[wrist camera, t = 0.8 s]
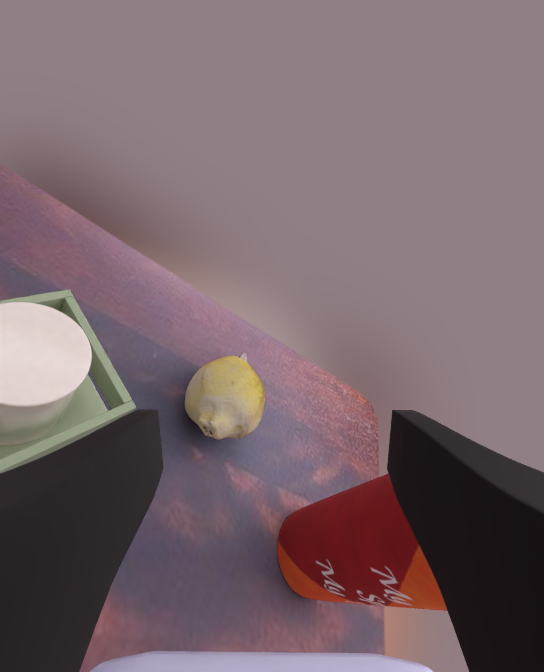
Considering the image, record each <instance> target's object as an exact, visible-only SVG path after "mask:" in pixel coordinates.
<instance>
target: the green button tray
mask: <svg viewBox="0 0 544 672" xmlns="http://www.w3.org/2000/svg"><path fill="white" fill-rule="evenodd" d="M107 411H108V410H107V408H106V407H105V405H104V403H103V401H102V399H101V398H100V396H99V394H98V392H97V390H96V389H95V387H94V385H93V383H92V381H91V379H90V378H89V376H88V374H87V376H86V378H85V380H84V381H83V383H82V385H81V386H80V388H79V390H78V391H77V393H76V395H75V396H74V398H73V400H72V402H71V403H70V405H69V407H68V408H67V410H66V412H65V413H64V415H63V417H62V418H61V420H60V421H59V422H58V423H57V424H56V426H55V427H54V428H52V429H51V430H50V431H49V432H47V433H46V434H44V435H43V436H41V437H39V438H37V439H34V440H32V441H29V442H25V443H21V444H15V445H0V459H1V458H4V457H6V456H8V455H10V454H12V453H15V452H17V451H19V450H21V449H24V448H26V447H28V446H30V445H33V444H35V443H37V442H39V441H42V440H44V439H46V438H48V437H51V436H53V435H55V434H57V433H60V432H62V431H64V430H66V429H68V428H71V427H73V426H75V425H77V424H80V423H82V422H84V421H86V420H89V419H91V418H93V417H95V416H98V415H100V414H102V413H104V412H107Z"/></svg>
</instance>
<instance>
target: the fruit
mask: <svg viewBox="0 0 544 672" xmlns="http://www.w3.org/2000/svg"><path fill="white" fill-rule="evenodd" d="M264 403H265V391H264V387H263V384H262V382H261V380H260V378H259V377H258V375H257V374H256V373H255V371H254V370H253V368H252V367H251V366H250V365H249V364H248V363H247V358H246V354H244V353H242V354H241V355H240V356H239V357H236V356H226V357H222V358H220V359H216V360H214V361H211V362H209V363H207V364H205V365H204V366H203V367H201V368H200V369H199V370H198V371H197V372H196V373H195V374H194V376H193V377H192V379H191V381H190V383H189V385H188V387H187V390H186V394H185V409H186V412H187V414H188V415H189V417H190V418H191V419H192V420H193V421H194V422H195V423H197V424H198V426H199V427H200V429H201V430H202V431H203V433H204V435H205V436H210V437H213V438H215V439H223V438H225V437H227V438H243V437H245V436H247V435H248V434H250V433H251V432H252V431H253V430H254V429H255V428H256V427H257V425H258V424H259V422H260V420H261V417H262V414H263V409H264Z"/></svg>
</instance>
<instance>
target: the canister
mask: <svg viewBox="0 0 544 672" xmlns="http://www.w3.org/2000/svg"><path fill="white" fill-rule="evenodd" d="M91 361H92V351H91V346H90V343H89V340H88V338H87V336H86V334H85V333H84V331H83V330H82V328H81V327H80V326H79V325H78V324H77V323H76V322H75V321H74V320H73V319H71V318H70V317H68V316H67V315H65V314H64V313H62V312H60V311H58V310H56V309H54V308H51V307H48V306H45V305H41V304H36V303H30V302H9V303H2V304H0V445H15V444H21V443H25V442H29V441H32V440H34V439H37V438H39V437H41V436H43V435H44V434H46V433H47V432H49V431H50V430H51V429H52V428H54V427H55V426H56V424H57V423H58V422H59V421H60V420H61V418H62V417H63V415H64V413H65V412H66V410H67V408H68V407H69V405H70V403H71V402H72V400H73V398H74V396H75V395H76V393H77V391H78V390H79V388H80V386H81V385H82V383H83V381H84V380H85V378H86V376H87V374H88V372H89V369H90V366H91Z"/></svg>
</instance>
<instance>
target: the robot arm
mask: <svg viewBox="0 0 544 672" xmlns="http://www.w3.org/2000/svg"><path fill="white" fill-rule="evenodd" d="M387 470H388V473H389V476H390V480H391V483H392V486H393V489H394V492H395V495H396V498H397V500H398V502H399V504H400V507H401V509H402V511H403V513H404V515H405V517H406V519H407V521H408V523H409V525H410V527H411V529H412V531H413V534H414V536H415V538H416V540H417V542H418V544H419V546H420V548H421V550H422V552H423V554H424V556H425V558H426V560H427V562H428V564H429V566H430V568H431V571H432V573H433V575H434V577H435V580H436V582H437V584H438V587H439V589H440V592H441V594H442V597H443V600H444V602H445V605H446V608H447V610H448V613H449V615H450V618H451V621H452V623H453V626H454V629H455V632H456V635H457V638H458V640H459V643H460V646H461V649H462V652H463V655H464V658H465V661H466V663H467V666H468V669H469V672H544V472H541V471H538V470H536V469H533V468H531V467H528V466H526V465H523V464H521V463H518V462H516V461H514V460H512V459H509V458H507V457H505V456H503V455H501V454H498V453H496V452H494V451H492V450H490V449H488V448H486V447H484V446H482V445H480V444H478V443H476V442H474V441H472V440H470V439H468V438H466V437H464V436H462V435H460V434H459V433H457V432H455V431H453V430H451V429H449V428H448V427H446V426H444V425H442V424H440V423H438V422H436V421H435V420H433V419H431V418H429V417H427V416H425V415H423V414H421V413H419V412H416V411H413V410H393V411H392V420H391V432H390V444H389V454H388V465H387ZM162 471H163V459H162V448H161V437H160V427H159V416H158V410H136V411H134V412H131V413H129V414H127V415H125V416H123V417H121V418H119V419H117V420H115V421H113V422H111V423H109V424H108V425H106V426H104V427H102V428H100V429H98V430H96V431H94V432H92V433H91V434H89V435H87V436H85V437H83V438H81V439H79V440H77V441H75V442H73V443H71V444H68V445H66V446H64V447H62V448H60V449H58V450H56V451H54V452H52V453H50V454H48V455H45V456H43V457H41V458H39V459H36V460H34V461H32V462H29V463H26V464H24V465H21V466H19V467H16V468H14V469H11V470H9V471H6V472H3V473H1V474H0V672H79V671H80V668H81V665H82V662H83V659H84V657H85V654H86V651H87V648H88V646H89V643H90V640H91V637H92V634H93V632H94V629H95V626H96V623H97V621H98V618H99V615H100V613H101V610H102V608H103V605H104V602H105V600H106V597H107V595H108V592H109V589H110V587H111V584H112V582H113V580H114V578H115V575H116V573H117V571H118V569H119V567H120V565H121V563H122V561H123V559H124V556H125V554H126V552H127V550H128V548H129V546H130V544H131V542H132V540H133V538H134V536H135V534H136V532H137V530H138V528H139V526H140V524H141V522H142V520H143V518H144V516H145V514H146V512H147V510H148V508H149V506H150V504H151V502H152V500H153V498H154V495H155V492H156V489H157V486H158V483H159V480H160V477H161V474H162ZM90 672H433V671H432V670H431V669H430V668H428V667H426V666H424V665H422V664H420V663H417V662H412V661H407V660H403V659H398V658H394V657H389V656H384V655H380V654H375V653H295V652H201V651H150V652H145V653H140V654H135V655H130V656H125V657H119V658H114V659H109V660H107V661H105V662H103V663H101V664H98V665H97V666H96V667H95V668H94V669H92V670H91V671H90Z"/></svg>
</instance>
